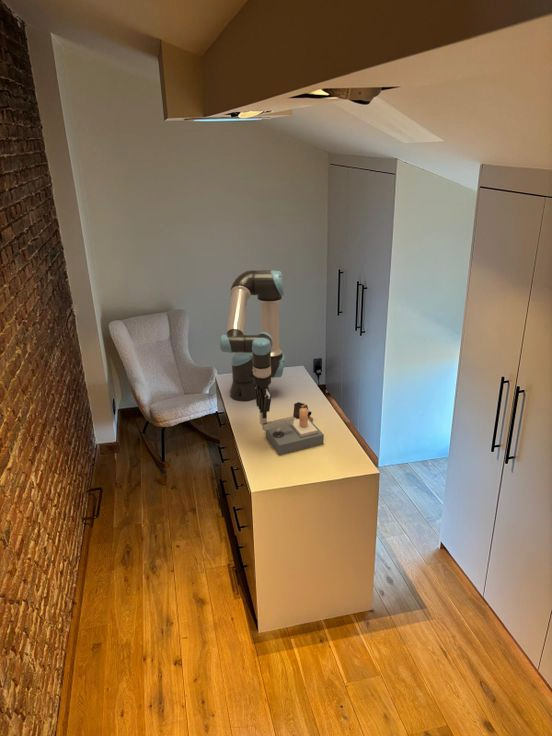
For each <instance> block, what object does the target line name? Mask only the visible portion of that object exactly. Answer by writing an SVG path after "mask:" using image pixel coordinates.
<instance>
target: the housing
mask: <svg viewBox="0 0 552 736" xmlns="http://www.w3.org/2000/svg"><path fill="white" fill-rule="evenodd" d="M308 420H309V421H310V422H311V423H312V425H313V426H314V427H315V428H316V429H317V430H318V433H316V434H312V435H308V436H304V437H300V435H299V434H298V433H297V432H296V431H295V430H294V428H293V427H292V426H291V425H288V426H284V427H280V430H281V434H280V435H277V434H276V428H275V429H271V430H266V431H264V432H265V438H266V439H267V440H268V443H270V445H271V446H272V447H273V449H274V450H275V451H276V453H277V454H278V455H279V456H283V455H285V454H290V453H294V452H299V451H303V450H305V449H310V448H314V447H318V446H322V445H324V441H325V438H324V437H325V435H324V433H323V432H322V431H321V430H320V429H319V428H318V426H317V425H315V423H314V422H313V420H312V421H311V420H310V419H309V418H308Z"/></svg>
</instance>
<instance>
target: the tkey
mask: <svg viewBox="0 0 552 736" xmlns="http://www.w3.org/2000/svg"><path fill="white" fill-rule="evenodd" d="M294 420H295V417H293V416H288V417H285V418H279V419H276V420H271V421H267V422H266V423H262V425H261V426H262V430H263V431H264V432H265V431H266V430H271V429H275V428H276V434H277V435H280V434H281V430H280V427H284V426H288V425H292V424H294Z"/></svg>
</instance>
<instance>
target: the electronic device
mask: <svg viewBox="0 0 552 736" xmlns="http://www.w3.org/2000/svg"><path fill="white" fill-rule="evenodd" d="M300 408H307V409H308V418H309V419H310V420H311V421H312V422H313V420H314V418H313V417H312V416H311V415H312V413H313V412H312V411H310V409H309V406H308V404H307V403H302V402H299V401H298V402H295V403H294V404H293V413H292V414H293V416H292V417H293V418H296V419H299V410H300Z"/></svg>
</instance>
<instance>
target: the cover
mask: <svg viewBox="0 0 552 736" xmlns="http://www.w3.org/2000/svg"><path fill="white" fill-rule="evenodd" d="M308 410H309V408H308V409H307V408H300V410H299V419H298V418H296V419H294V424H292V425H291V426H292V427H293V428H294V430H295V431H296V432H297V433H298V434H299V435H300V437H304V436H308V435H312V434H316V433H318V430H317V429H316V428H315V427H314V426H313V425H312V423H311V422H310V421H309V420H308Z"/></svg>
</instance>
